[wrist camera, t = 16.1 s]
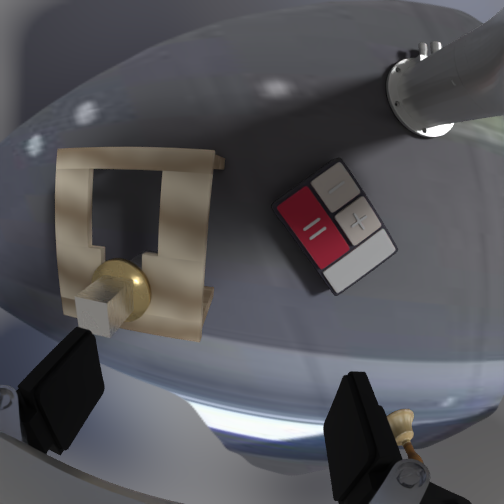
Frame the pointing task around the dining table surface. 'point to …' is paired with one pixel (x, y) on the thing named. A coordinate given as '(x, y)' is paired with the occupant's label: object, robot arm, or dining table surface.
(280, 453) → the dining table surface
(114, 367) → the dining table surface
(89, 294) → the peg
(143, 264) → the shelf
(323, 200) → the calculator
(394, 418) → the hand bell
